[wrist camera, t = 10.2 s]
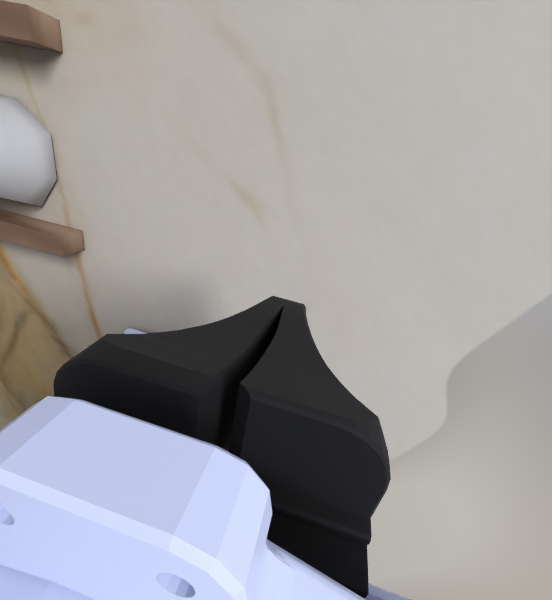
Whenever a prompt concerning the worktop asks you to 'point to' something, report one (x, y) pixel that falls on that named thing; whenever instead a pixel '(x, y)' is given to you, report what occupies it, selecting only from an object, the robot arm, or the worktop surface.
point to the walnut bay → (10, 226)
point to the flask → (24, 155)
